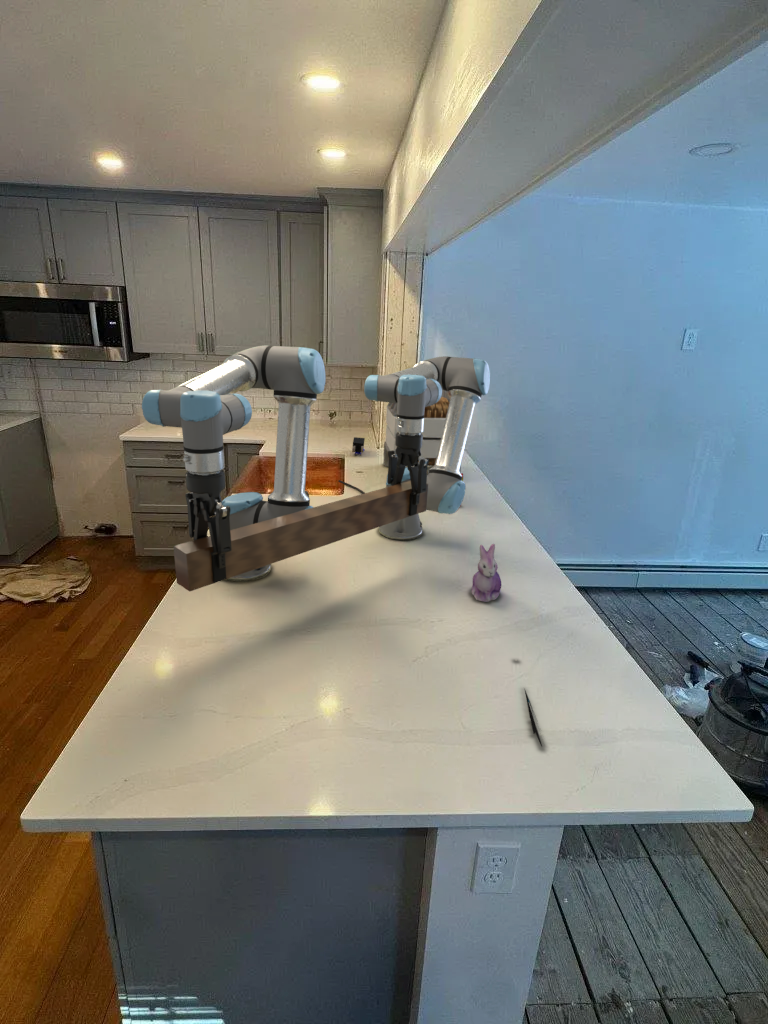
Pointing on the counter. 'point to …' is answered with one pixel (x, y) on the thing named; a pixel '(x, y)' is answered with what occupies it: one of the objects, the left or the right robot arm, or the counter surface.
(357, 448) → the figurine character
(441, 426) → the transformer
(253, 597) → the counter surface
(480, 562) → the figurine
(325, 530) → the bar
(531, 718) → the feather
